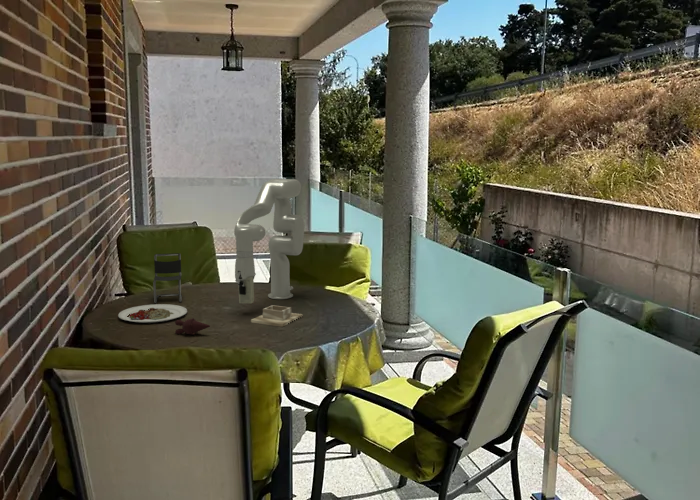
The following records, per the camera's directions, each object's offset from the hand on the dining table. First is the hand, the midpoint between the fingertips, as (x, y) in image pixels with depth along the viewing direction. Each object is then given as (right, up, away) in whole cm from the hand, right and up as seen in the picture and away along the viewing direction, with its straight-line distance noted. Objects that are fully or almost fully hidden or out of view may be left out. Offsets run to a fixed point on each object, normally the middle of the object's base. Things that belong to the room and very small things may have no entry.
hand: (246, 292), depth 301 cm
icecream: (-17, -15, -31) cm, 39 cm away
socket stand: (+15, -12, -8) cm, 21 cm away
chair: (-43, -6, +27) cm, 51 cm away
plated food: (-42, -11, -3) cm, 43 cm away
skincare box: (0, -5, +1) cm, 5 cm away
